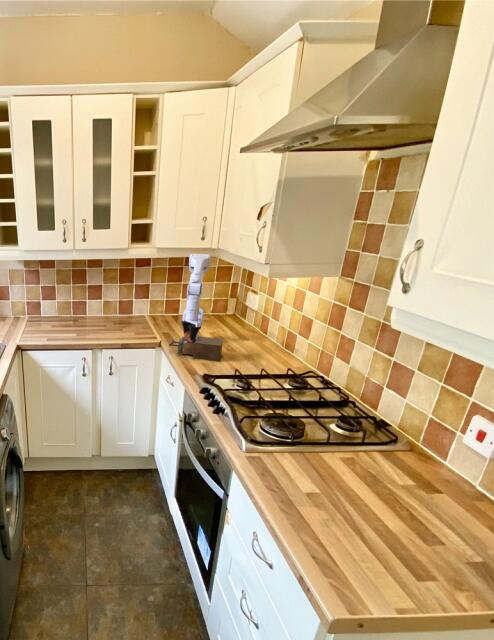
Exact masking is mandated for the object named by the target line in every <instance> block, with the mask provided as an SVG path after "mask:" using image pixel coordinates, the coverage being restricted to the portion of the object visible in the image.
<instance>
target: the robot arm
mask: <svg viewBox="0 0 494 640" xmlns="http://www.w3.org/2000/svg"><path fill="white" fill-rule="evenodd" d="M211 257H212V255H211V253H193V252H191V253H190V254H189V257H188V258H189V260H188V270H189V272H190V278H189V283H188V284H187V288H186V308H185V309H184V310H183V315H182V320H181V321H180V323H181V326H182V331H183V334H184V333H185V332H187V331H190V340H195V339H197V338H198V336H199V334H200V330H201V329H202V326H203V324H204V323H203V322H204V315H205V314H204V313H205V312H204V310H203V308H202V307H200V305H201V297H202V295H203V287H204V284H203V283H204V275H205V274H206V273H208V272H209V270H210V265H211ZM184 342H185V341H184ZM186 343H187V342H186Z"/></svg>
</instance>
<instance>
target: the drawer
mask: <svg viewBox="0 0 494 640" xmlns="http://www.w3.org/2000/svg"><path fill="white" fill-rule="evenodd" d="M195 341H196V339H195V340H194V341H193V342H192V343H191V342H187V343H186V342H184V336H181V338H180V339H179V341H175V340H173V339H172V340H171V341H170V342H169V344H168V346H169V347H177V355H181V353H182V354H184V355H192V356H193V352H194V343H195Z"/></svg>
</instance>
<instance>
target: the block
mask: <svg viewBox="0 0 494 640" xmlns="http://www.w3.org/2000/svg"><path fill="white" fill-rule="evenodd" d="M183 337H184V341H185V342H191V343H192V342H193V341H194V340H190V331H187V332H185V333H184V332H183Z"/></svg>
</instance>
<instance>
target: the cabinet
mask: <svg viewBox="0 0 494 640" xmlns="http://www.w3.org/2000/svg"><path fill="white" fill-rule="evenodd" d="M223 346H224V338H216V337H209V336H208V337H207V336H198V338H197V339H196V341H195V343H194V352H193V355H192V359H196V360H204V361H212V362H219V361H220V359H221V356H222V353H223Z"/></svg>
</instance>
